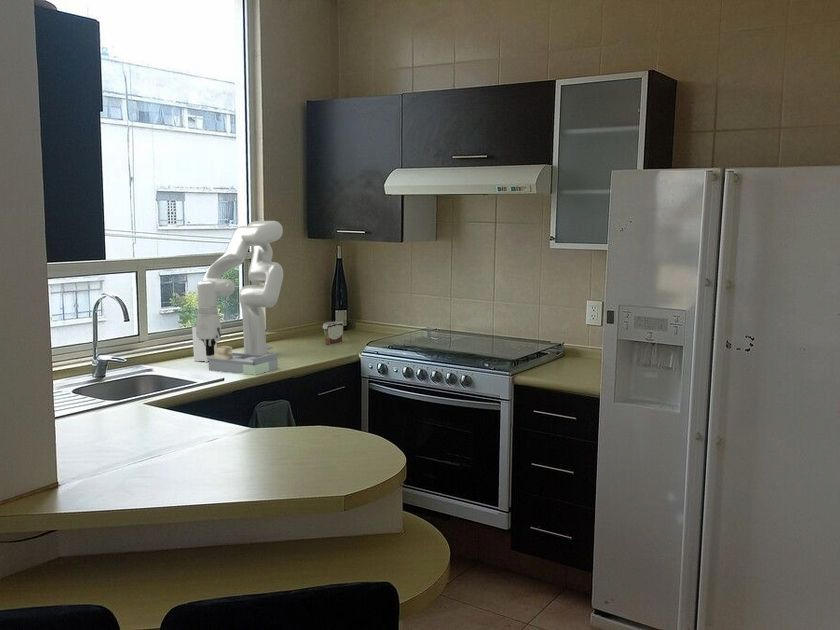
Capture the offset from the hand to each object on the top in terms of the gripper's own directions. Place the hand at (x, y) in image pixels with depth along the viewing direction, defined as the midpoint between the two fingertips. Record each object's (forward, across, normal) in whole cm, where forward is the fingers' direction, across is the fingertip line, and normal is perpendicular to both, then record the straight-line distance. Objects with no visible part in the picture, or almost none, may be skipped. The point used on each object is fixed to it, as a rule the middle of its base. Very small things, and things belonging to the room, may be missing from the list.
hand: (210, 355), depth 331 cm
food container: (+5, +11, +70) cm, 71 cm away
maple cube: (+1, +7, 0) cm, 7 cm away
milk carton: (+6, -14, +12) cm, 19 cm away
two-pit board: (+5, +15, +3) cm, 16 cm away
